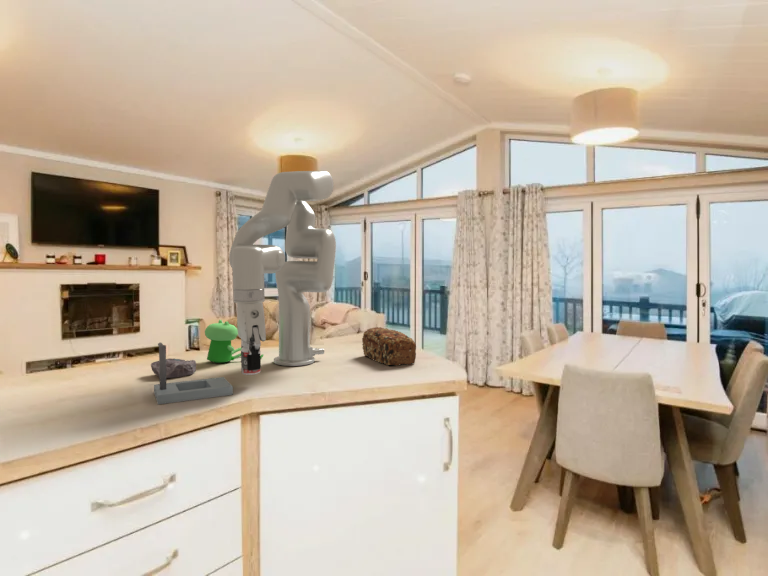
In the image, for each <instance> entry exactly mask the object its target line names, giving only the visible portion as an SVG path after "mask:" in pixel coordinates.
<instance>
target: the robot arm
mask: <svg viewBox="0 0 768 576" xmlns="http://www.w3.org/2000/svg"><path fill="white" fill-rule="evenodd" d="M334 187H335V185H334V179H333V177H332V175H331V173H330V172H328V171H327V170H300V171H299V170H297V171H296V170H295V171H282V172H278V173H276V174H275V175H274V176H273V177H272V178H271V181H270V184H269V187H268V189H267V192H266V196H265V199H264V201H263V205H262V208H261V209H260V211H259V212H257V213H256V214H254V215H253V216H252V217H250V218H249V219H248V220H247V221H246V222H245V223H243V224H242V225H241V227H240V228H239V229H238V230H237V232H236V233H235V235H234V238H233V241H232V244H231V246H230V250H229V253H228V254H229V255H228V259H229V260H228V261H229V265H230V267H231V270H232V293H233V294H232V295H233V296H232V297H233V298H232V300H233V303H234V304H236V320H237V321H236V325H237V326H236V328H237V330H238V335H237V337H239V338H240V339H241V340H240V342H241V343H240V348H241V349H242V348H243V346H242V341H243V340H244V341H245V342H247V346H248V354H247V369H248V370H249V371H250V370H257V369H260V368H261V369H262V367H261V365H262V363H261V360H262V358H261V359H260V356H261V346H262V342H265V341H266V340H267V336H266V335H267V333H266V319H265V318H266V317H265V309H264V304H263V303H265V301H266V300H265V274H275V282H276V287H277V295H278V296H277V297H278V356H276V357H274V358H273V363H274V364H275V365H279V366H283V367H299V366H307V365H311V364H313V363H315V356H316V355H324V354H325V349H324V347H320V348H318V347H312V346H310V345H311V343H310V342H311V341H310V340H311V337H310V335H311V332H310V331H311V330H310V329H311V327H310V325H311V322H310V320H311V319H310V318H311V317H310V316H311V314H310V313H311V308H310V307H311V306H310V303H309V301H308V299H307V297H306V296H305V294H304V293H326V292H328V291H329V290H330V289H331V286H332V283H333V278H334V268H335V261H336V259H335V258H336V251H337V250H336V249H337V248H336V247H337V243H336V236H335V234H334V232H332V230H330V229H329V228H324V227H323V228H320V227H319V228H317V227H316V226H315V225H316V214H315V212H314V210H313V208H312V207H311V206H310V205H309V204H308V202H315V201H317V202H318V201H323V200H326V199H328V198H330V196H332V194H333V191H334ZM286 227H287V228H286ZM315 227H316V228H315ZM284 228H286V234H285V242H284V251H285V252H284V251H283V249H282V248H281V247H280V246H277V245H275V244H255V243H256V242H257V241H258V240H259V239H262V238H263V237H265V236H268V235H270V234H274V233H276V232H278V231H280V230H282V229H284ZM285 253H286V255H287V256H288V257H290V258H293V259H312V260H313V259H315V260H316V261H311V260H308V261H306V260H287V261H286V255H285ZM252 339H253V340H254V342H250V340H252ZM261 341H262V342H261ZM251 344H254V345H252V347H251Z"/></svg>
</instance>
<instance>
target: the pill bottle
mask: <svg viewBox="0 0 768 576" xmlns="http://www.w3.org/2000/svg"><path fill="white" fill-rule="evenodd" d="M250 342H254V340H253V339H252V340H250ZM252 345H254V344H251V347H252ZM242 346H243V348H242V349H241V351H240V353H241V356H240V363H241V364H240V365H241V366H240V370H241V374H242V375H245V376H251V375H252V376H253V375H258V374H260V373H261V369H262V367H261V368H260V369H257V370H250V371H249V370H248V369H247V354H248V346H247V342H245V341H244V340H243V341H242Z"/></svg>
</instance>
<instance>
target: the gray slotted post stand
mask: <svg viewBox="0 0 768 576" xmlns="http://www.w3.org/2000/svg"><path fill="white" fill-rule="evenodd" d="M157 346H158V361H159V384H157V383H156V384H153V394H154V396H155V399H156V402H157V405H164V404H171V403H172V404H173V403H178V402H179V403H180V402H186V401H194V400H203V399H210V398H216V397H217V398H218V397H225V396H231V395H233V394H234V393H233V389H234V387H233V385H232V384H231V383H230V382H229V381H228V380H227V379H226V377H224V376H219V377H212V378H210V377H209V378H201V379H193V380H192V379H191V380H185V381H184V380H183V381H174V382H167V378H166V359H167V345H164V344H163V342H159V343H157Z"/></svg>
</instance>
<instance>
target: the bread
mask: <svg viewBox="0 0 768 576" xmlns="http://www.w3.org/2000/svg"><path fill="white" fill-rule="evenodd" d="M361 340H362V344H361V345H362V350H363V352H362V353H363V355H364V357H366V356H367V358H369V359H370V358H371V360H372V359H374V360H373V361H375V360H376V361H375V362H377V361H379V362H381V363H380V364H383V363H384V364H383V365H385V366H387V365H399V364H400V365H401V364H402V365H403V364H408V365H412V364H411V363H414V364H415V363H416V357H417V352H416V351H417V343H416V342H415V341H414V339H413V338H411V337H410V336H408V335H407V334H405V333H403V332H401V331H398V330H393V329H389V328H386V327H385V328H384V327H381V326H380V327H379V326H376V327H369V328H368V329H366V330H365V331H364V332H363V334H362V338H361ZM379 362H378V363H379ZM400 365H399V366H400Z"/></svg>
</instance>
